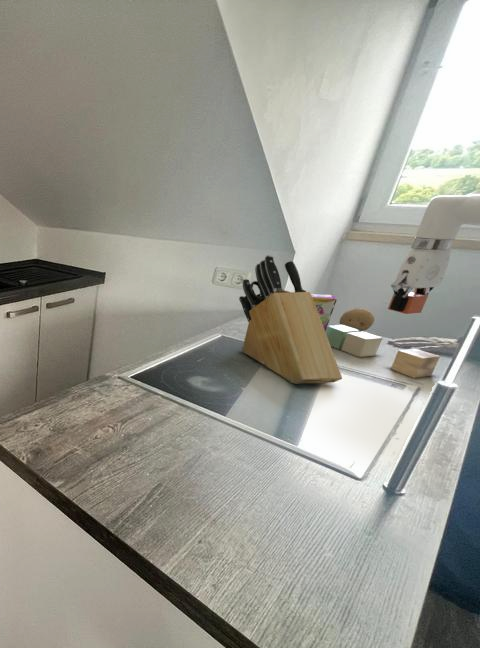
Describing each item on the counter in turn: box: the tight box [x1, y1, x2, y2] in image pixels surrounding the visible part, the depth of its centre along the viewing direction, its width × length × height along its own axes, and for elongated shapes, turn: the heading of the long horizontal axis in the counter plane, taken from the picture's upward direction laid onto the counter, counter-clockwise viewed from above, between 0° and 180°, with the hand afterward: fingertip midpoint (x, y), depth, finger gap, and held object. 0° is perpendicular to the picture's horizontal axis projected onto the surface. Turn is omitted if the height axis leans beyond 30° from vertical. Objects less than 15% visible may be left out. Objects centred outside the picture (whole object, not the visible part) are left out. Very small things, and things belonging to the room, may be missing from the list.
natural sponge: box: [339, 307, 375, 332], centre depth 137 cm, size 9×9×10 cm
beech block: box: [390, 347, 441, 379], centre depth 110 cm, size 6×6×6 cm
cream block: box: [340, 331, 383, 358], centre depth 124 cm, size 6×6×6 cm
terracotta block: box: [387, 291, 429, 315], centre depth 111 cm, size 5×5×5 cm
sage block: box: [325, 324, 360, 350], centre depth 130 cm, size 6×6×6 cm
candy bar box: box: [311, 293, 338, 331], centre depth 131 cm, size 11×5×16 cm, turn 71°
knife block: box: [238, 254, 343, 385], centre depth 114 cm, size 11×35×31 cm, turn 2°
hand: (404, 308), depth 112 cm, fingers closed on terracotta block, 5 cm apart
